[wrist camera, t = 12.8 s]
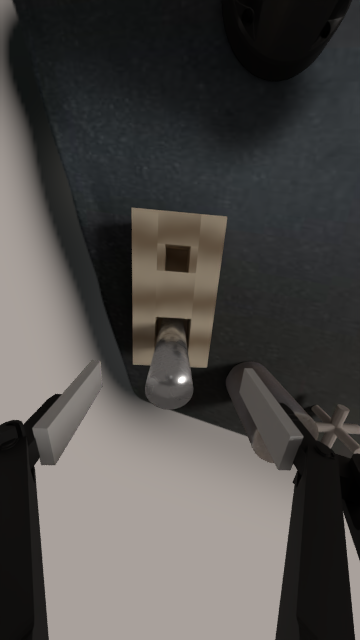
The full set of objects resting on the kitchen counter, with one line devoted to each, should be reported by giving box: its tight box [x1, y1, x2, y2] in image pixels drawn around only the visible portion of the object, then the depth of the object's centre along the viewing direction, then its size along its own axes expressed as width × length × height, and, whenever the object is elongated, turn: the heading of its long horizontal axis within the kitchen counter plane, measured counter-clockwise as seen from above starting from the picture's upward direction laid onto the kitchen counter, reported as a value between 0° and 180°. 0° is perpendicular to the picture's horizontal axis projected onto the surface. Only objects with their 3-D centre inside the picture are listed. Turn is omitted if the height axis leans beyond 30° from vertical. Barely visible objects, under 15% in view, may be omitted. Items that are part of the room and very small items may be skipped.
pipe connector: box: [311, 404, 360, 454], centre depth 36 cm, size 10×10×10 cm
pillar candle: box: [226, 361, 319, 463], centre depth 30 cm, size 10×10×15 cm
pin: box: [145, 317, 193, 409], centre depth 23 cm, size 4×4×18 cm
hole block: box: [132, 208, 227, 368], centre depth 28 cm, size 22×12×7 cm, turn 176°
